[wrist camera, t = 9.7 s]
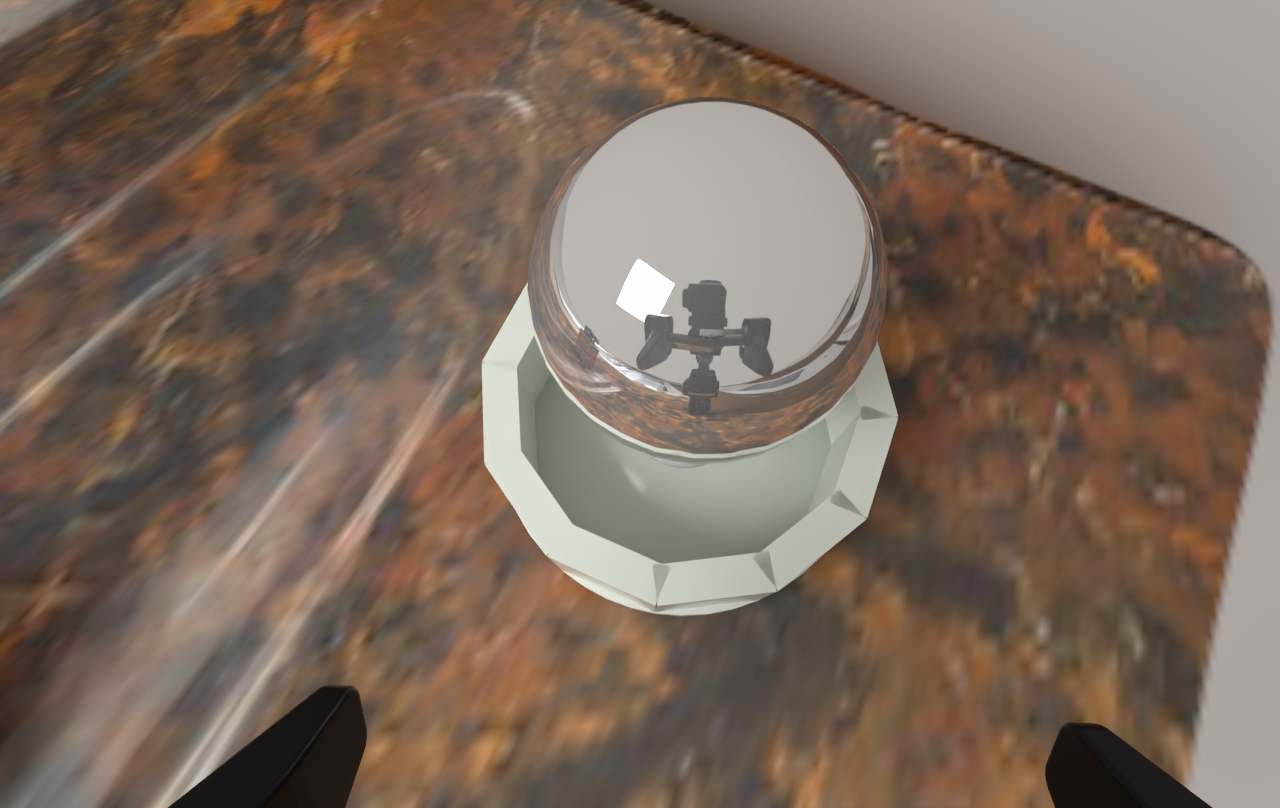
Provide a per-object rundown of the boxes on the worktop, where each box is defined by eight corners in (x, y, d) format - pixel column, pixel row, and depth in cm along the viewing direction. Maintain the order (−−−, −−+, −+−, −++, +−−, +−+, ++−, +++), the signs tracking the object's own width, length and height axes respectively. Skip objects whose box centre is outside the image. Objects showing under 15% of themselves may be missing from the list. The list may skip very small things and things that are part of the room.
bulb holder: (788, 682, 19) (823, 691, 15) (442, 524, 21) (396, 496, 17) (895, 351, 23) (944, 292, 19) (595, 242, 24) (585, 169, 21)
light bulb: (663, 298, 22) (680, -56, 11) (831, 414, 21) (1045, 131, 10) (530, 445, 20) (389, 192, 9) (702, 585, 19) (785, 482, 8)
